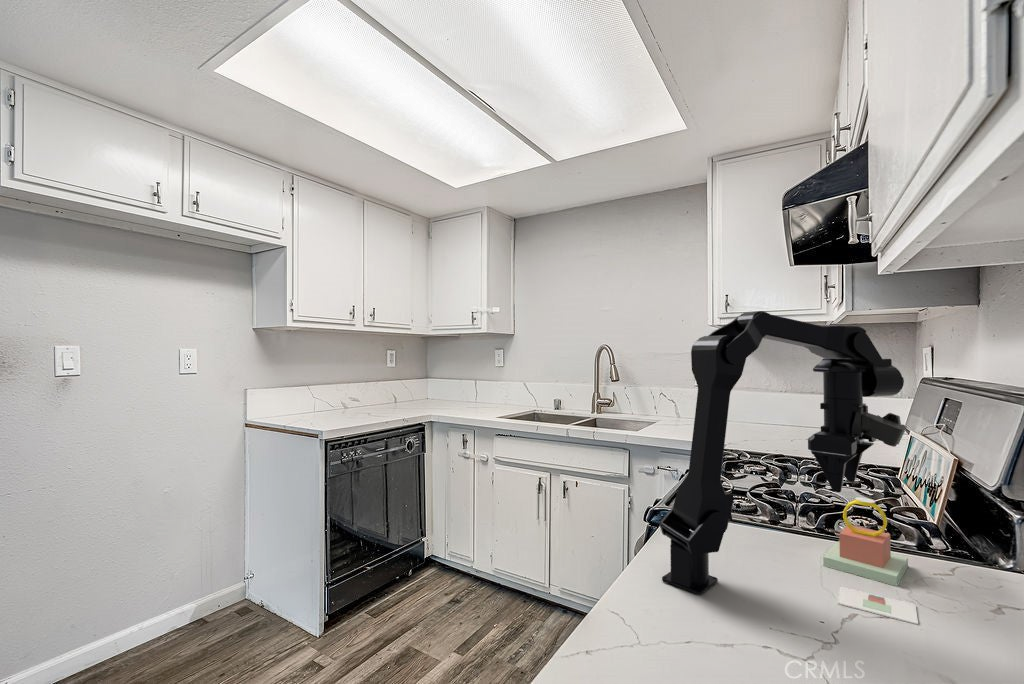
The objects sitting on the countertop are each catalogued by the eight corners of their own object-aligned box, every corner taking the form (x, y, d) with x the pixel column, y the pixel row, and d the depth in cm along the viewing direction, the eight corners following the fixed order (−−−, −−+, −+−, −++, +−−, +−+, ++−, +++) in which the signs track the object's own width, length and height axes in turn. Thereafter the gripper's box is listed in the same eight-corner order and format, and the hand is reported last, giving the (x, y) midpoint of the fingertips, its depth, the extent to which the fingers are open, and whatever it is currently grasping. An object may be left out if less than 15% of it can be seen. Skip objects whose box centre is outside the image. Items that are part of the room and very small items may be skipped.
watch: (886, 537, 82) (889, 502, 82) (884, 542, 80) (887, 506, 80) (843, 526, 86) (846, 493, 86) (841, 530, 84) (843, 497, 84)
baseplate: (896, 586, 76) (896, 576, 76) (823, 565, 83) (823, 556, 83) (908, 566, 83) (907, 557, 83) (839, 548, 90) (838, 540, 90)
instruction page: (918, 624, 65) (918, 623, 65) (837, 603, 71) (837, 602, 71) (915, 605, 70) (915, 604, 70) (840, 587, 75) (840, 586, 75)
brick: (883, 568, 79) (882, 543, 79) (839, 556, 83) (839, 533, 83) (890, 557, 83) (890, 533, 83) (849, 546, 87) (848, 524, 87)
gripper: (889, 406, 73) (891, 509, 73) (910, 397, 86) (912, 485, 86) (806, 400, 81) (807, 493, 81) (836, 393, 94) (838, 473, 94)
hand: (844, 486), depth 85 cm, fingers open, 9 cm apart
